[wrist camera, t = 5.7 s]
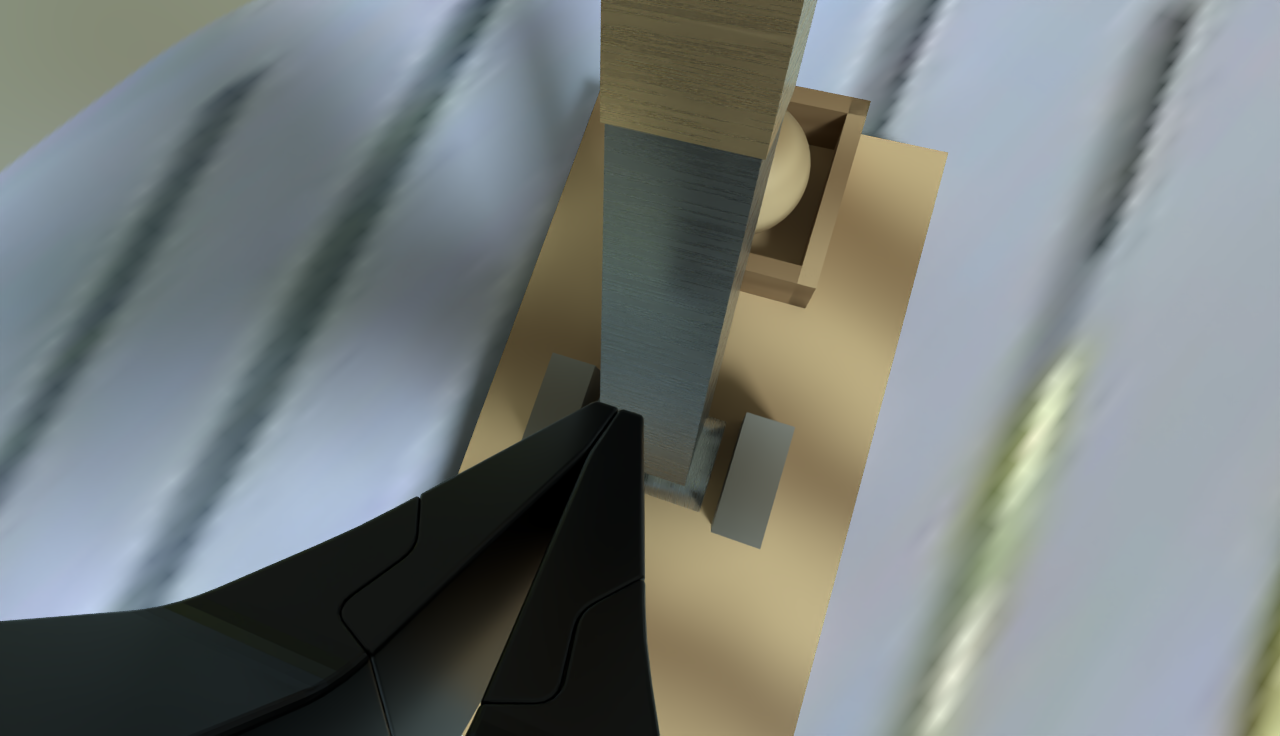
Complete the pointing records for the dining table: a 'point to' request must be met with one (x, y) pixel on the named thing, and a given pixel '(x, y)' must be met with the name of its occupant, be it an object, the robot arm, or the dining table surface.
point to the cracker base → (745, 413)
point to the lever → (684, 206)
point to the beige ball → (785, 175)
